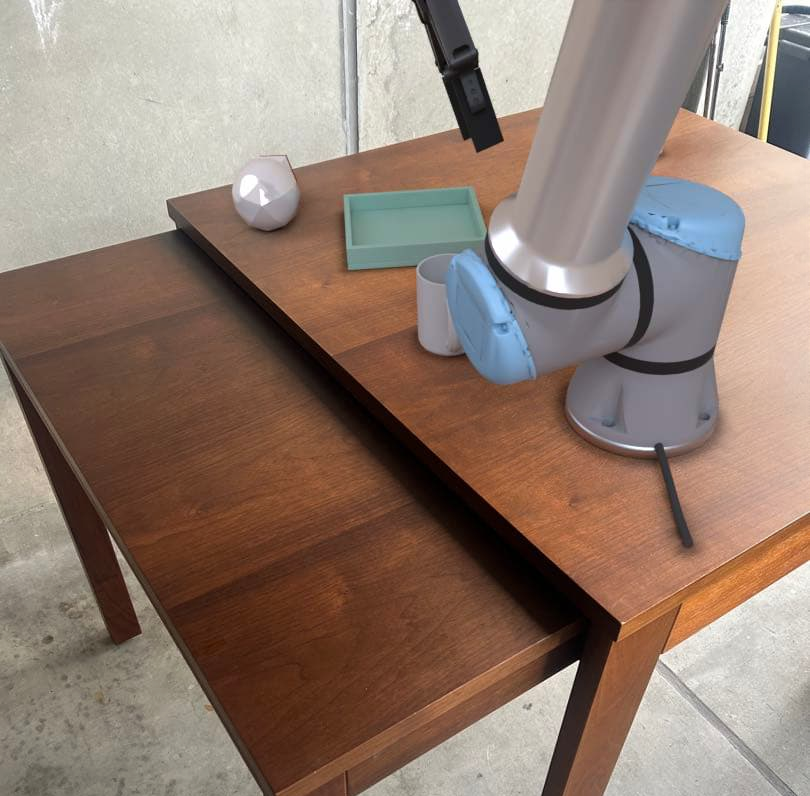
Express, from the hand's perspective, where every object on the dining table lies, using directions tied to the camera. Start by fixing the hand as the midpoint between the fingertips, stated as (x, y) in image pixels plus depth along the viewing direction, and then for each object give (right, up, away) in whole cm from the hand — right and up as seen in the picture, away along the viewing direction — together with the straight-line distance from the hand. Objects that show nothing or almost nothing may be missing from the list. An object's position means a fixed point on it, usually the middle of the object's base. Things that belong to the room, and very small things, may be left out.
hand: (482, 141), depth 87 cm
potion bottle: (-27, +7, +39) cm, 48 cm away
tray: (-7, +2, +33) cm, 33 cm away
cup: (-2, -18, +13) cm, 22 cm away
